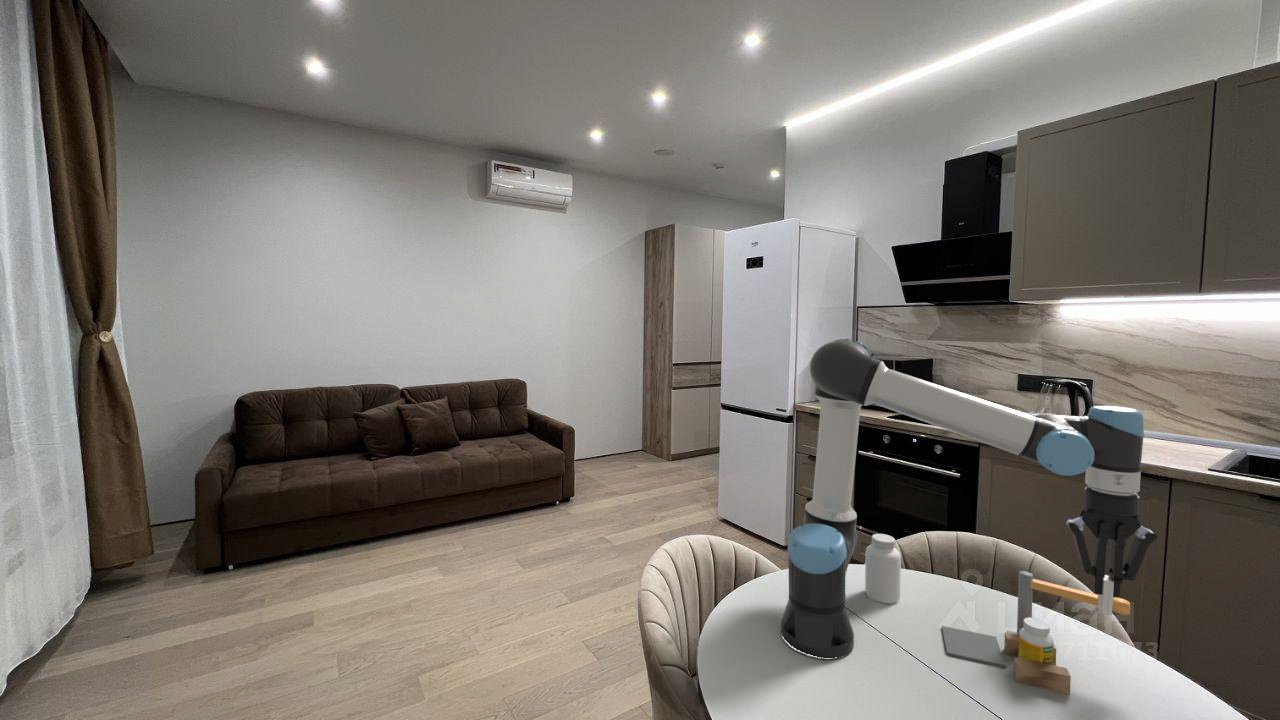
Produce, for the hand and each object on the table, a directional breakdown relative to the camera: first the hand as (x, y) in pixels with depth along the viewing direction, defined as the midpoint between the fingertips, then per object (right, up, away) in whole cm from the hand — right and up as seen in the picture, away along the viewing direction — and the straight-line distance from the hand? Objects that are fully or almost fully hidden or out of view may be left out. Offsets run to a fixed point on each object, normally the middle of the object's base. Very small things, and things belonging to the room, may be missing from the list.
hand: (1104, 610), depth 97 cm
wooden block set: (-10, -13, +5) cm, 17 cm away
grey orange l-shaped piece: (-2, -11, +6) cm, 13 cm away
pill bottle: (-28, -12, +31) cm, 43 cm away
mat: (-19, -13, +10) cm, 25 cm away
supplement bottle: (-11, -13, +3) cm, 17 cm away
